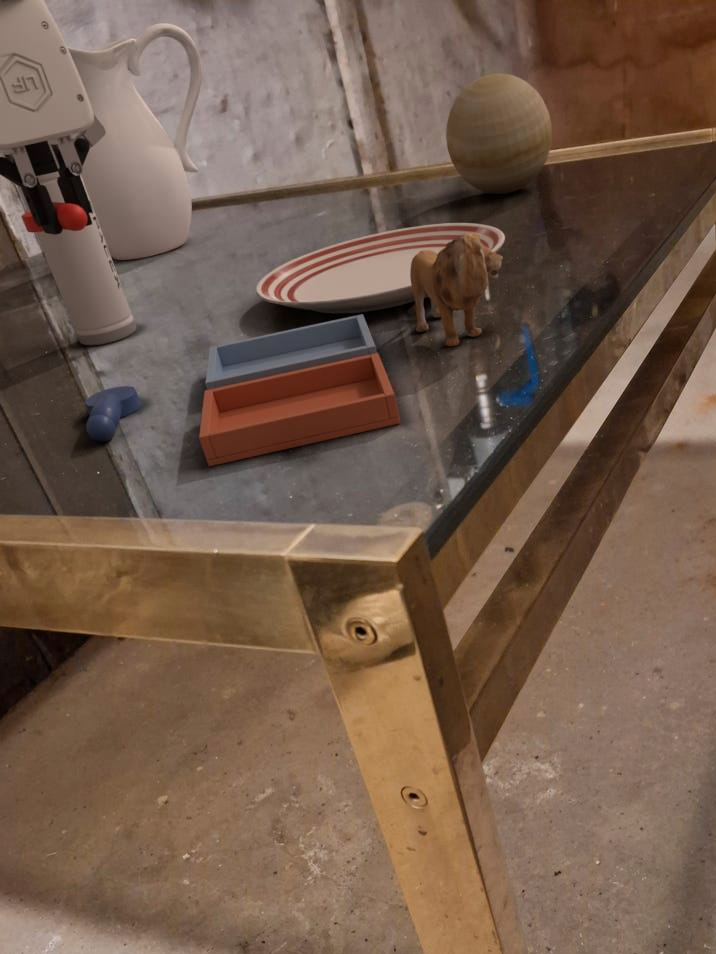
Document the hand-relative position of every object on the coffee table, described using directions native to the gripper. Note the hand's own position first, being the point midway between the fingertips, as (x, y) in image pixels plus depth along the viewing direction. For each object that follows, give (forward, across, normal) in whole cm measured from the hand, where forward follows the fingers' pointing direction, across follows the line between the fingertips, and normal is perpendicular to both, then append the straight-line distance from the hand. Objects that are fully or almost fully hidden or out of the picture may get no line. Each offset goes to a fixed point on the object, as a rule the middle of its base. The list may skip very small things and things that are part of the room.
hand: (68, 227), depth 84 cm
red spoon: (0, 0, +2) cm, 2 cm away
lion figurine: (+13, +22, -27) cm, 37 cm away
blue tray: (+13, +8, -20) cm, 25 cm away
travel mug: (+13, +4, +13) cm, 19 cm away
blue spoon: (+13, -7, -15) cm, 21 cm away
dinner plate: (+13, +29, -6) cm, 32 cm away
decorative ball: (+13, +68, +16) cm, 71 cm away
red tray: (+13, +2, -31) cm, 34 cm away
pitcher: (+13, +32, +52) cm, 62 cm away
